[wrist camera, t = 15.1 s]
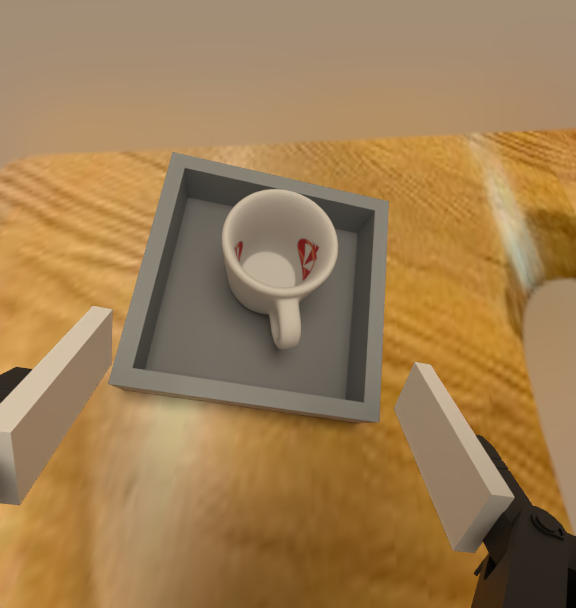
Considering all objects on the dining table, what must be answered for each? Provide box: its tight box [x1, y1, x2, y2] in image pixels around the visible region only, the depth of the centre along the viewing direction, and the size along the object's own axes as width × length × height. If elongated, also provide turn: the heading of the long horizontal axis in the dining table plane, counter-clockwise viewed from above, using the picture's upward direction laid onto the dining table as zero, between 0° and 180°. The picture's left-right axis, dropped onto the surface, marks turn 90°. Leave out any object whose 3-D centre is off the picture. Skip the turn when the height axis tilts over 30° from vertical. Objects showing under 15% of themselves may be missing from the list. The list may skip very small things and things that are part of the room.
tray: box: [108, 152, 389, 423], centre depth 30 cm, size 18×18×4 cm
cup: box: [222, 189, 338, 349], centre depth 29 cm, size 11×8×8 cm
